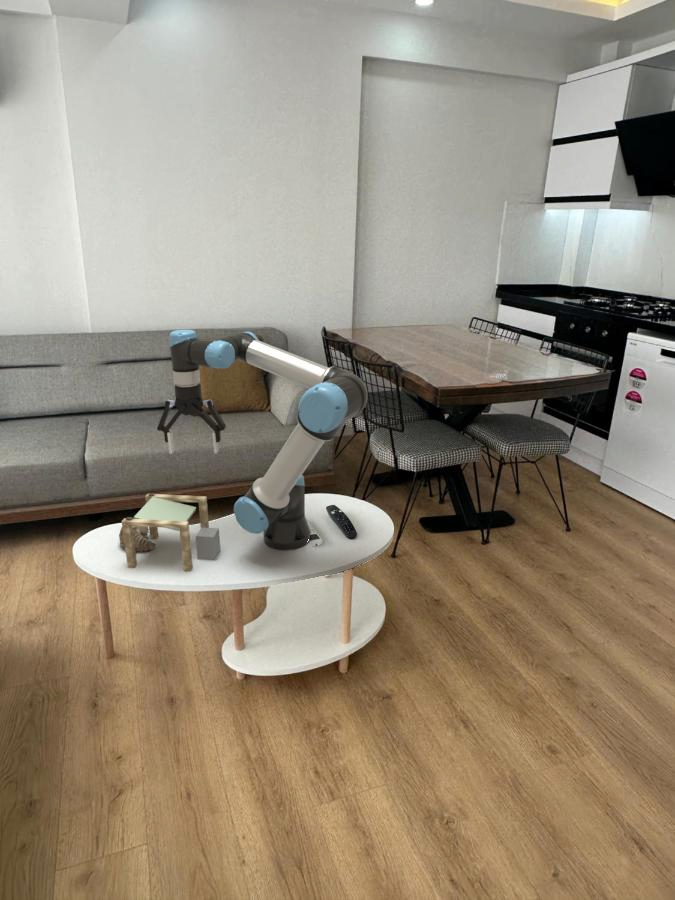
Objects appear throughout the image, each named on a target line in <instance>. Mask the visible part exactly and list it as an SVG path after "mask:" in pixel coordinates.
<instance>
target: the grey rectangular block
mask: <svg viewBox="0 0 675 900" xmlns="http://www.w3.org/2000/svg"><path fill="white" fill-rule="evenodd" d="M195 544H196V545H195V549H196V557H197V560H201V561H202V560H204V561H216V560H217V558H218V557H219V554H220V553H221V539H220V529H219V527H218V528H217V527H209V528H204V527H201V526H200V528H199V530H198V532H197V533H196V534H195Z"/></svg>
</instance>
